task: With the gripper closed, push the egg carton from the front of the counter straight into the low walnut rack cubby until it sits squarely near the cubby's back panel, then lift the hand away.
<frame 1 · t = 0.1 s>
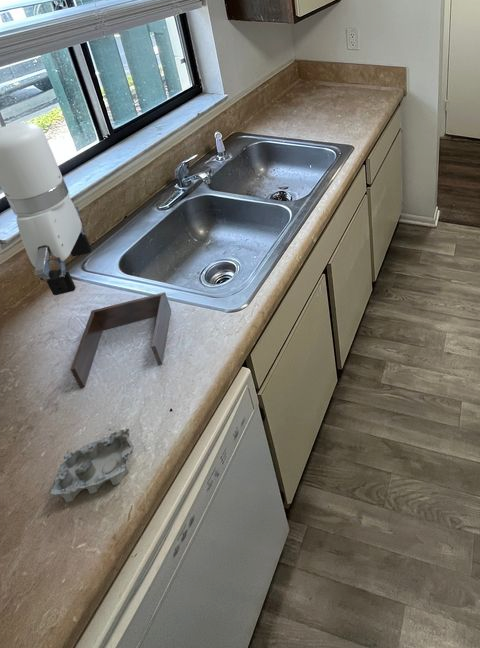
hand: (74, 271, 80), 29 cm above the worktop, tool pointing down, fingers open, 9 cm apart
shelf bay: (129, 347, 97), on the worktop
egg carton: (99, 472, 76), on the worktop
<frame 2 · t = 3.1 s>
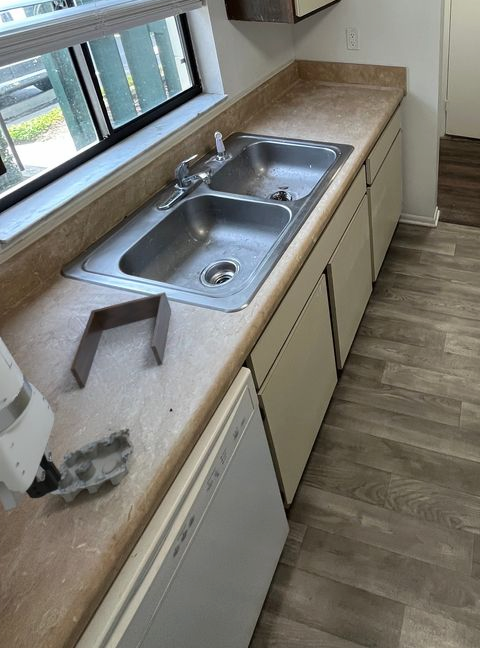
hand: (47, 487, 61), 15 cm above the worktop, tool pointing down, fingers closed
nothing on the worktop moved.
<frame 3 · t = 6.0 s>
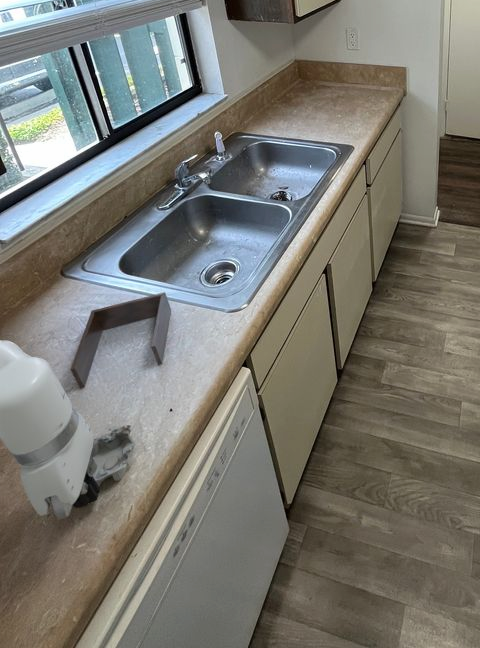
hand: (87, 498, 71), 2 cm above the worktop, tool pointing down, fingers closed
egg carton: (100, 468, 76), on the worktop, touching gripper
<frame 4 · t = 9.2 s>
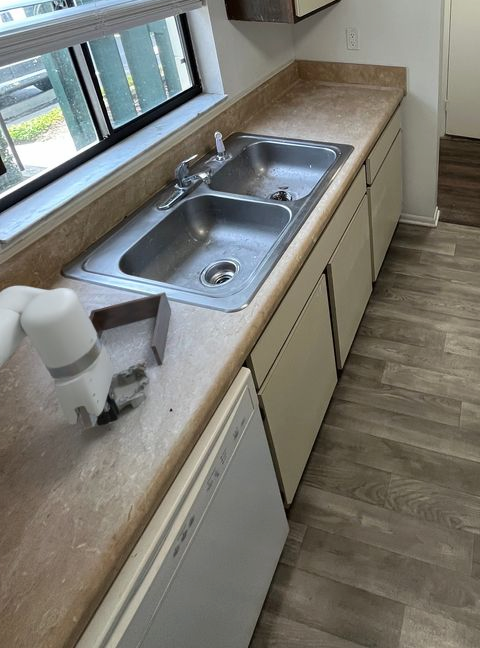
hand: (109, 418, 82), 2 cm above the worktop, tool pointing down, fingers closed
egg carton: (120, 399, 87), on the worktop, touching gripper
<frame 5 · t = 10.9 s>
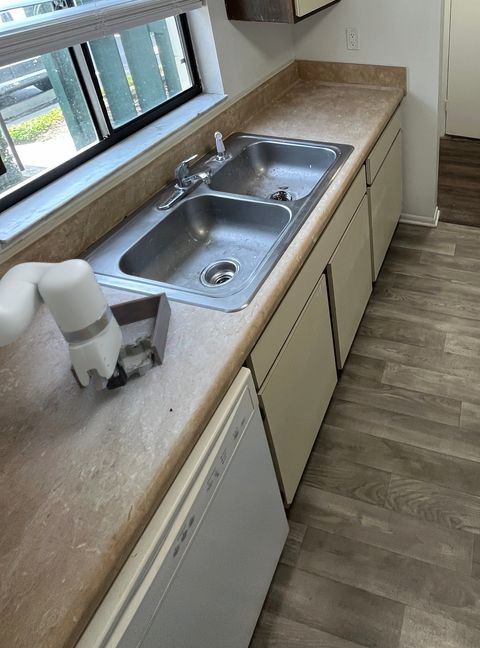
hand: (118, 384, 87), 2 cm above the worktop, tool pointing down, fingers closed
egg carton: (128, 367, 93), on the worktop, touching gripper
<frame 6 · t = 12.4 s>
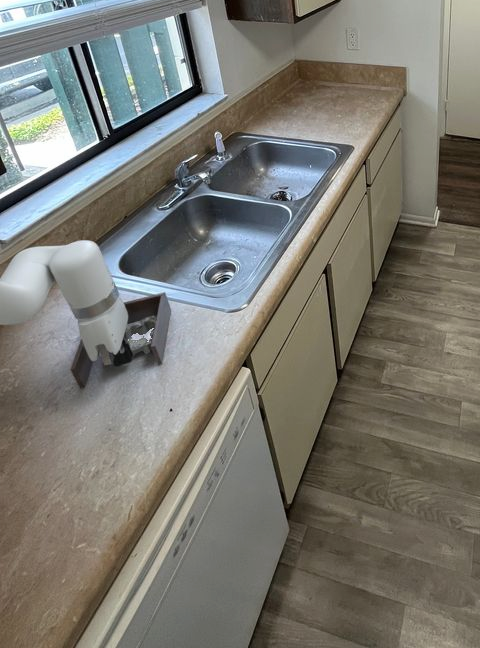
hand: (124, 361, 92), 2 cm above the worktop, tool pointing down, fingers closed
egg carton: (133, 347, 97), on the worktop, touching gripper
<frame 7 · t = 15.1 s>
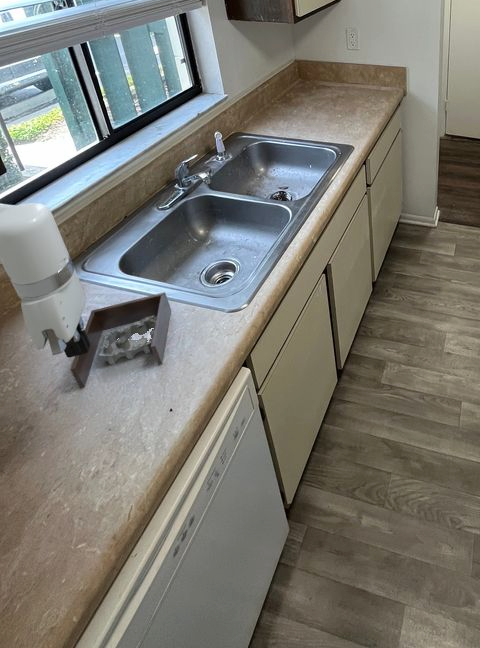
hand: (79, 351, 78), 17 cm above the worktop, tool pointing down, fingers closed
egg carton: (133, 346, 97), on the worktop
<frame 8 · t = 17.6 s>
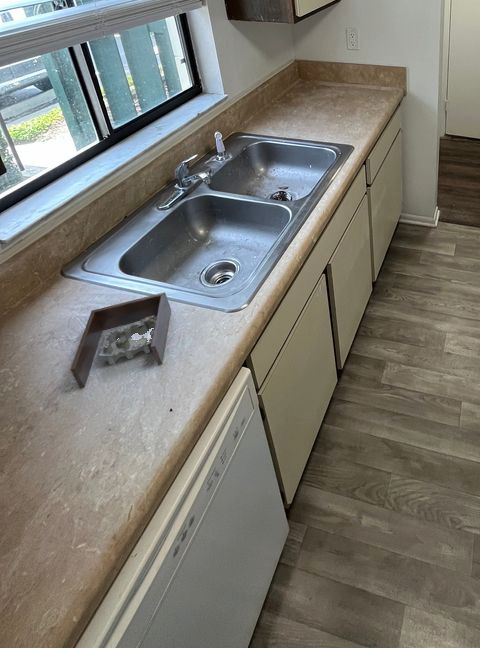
nothing on the worktop moved.
at the end: egg carton 1.0 cm off-centre on the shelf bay, point 0.0 cm above the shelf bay's base; egg carton tilted 1°; egg carton moved 25.0 cm from its start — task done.
